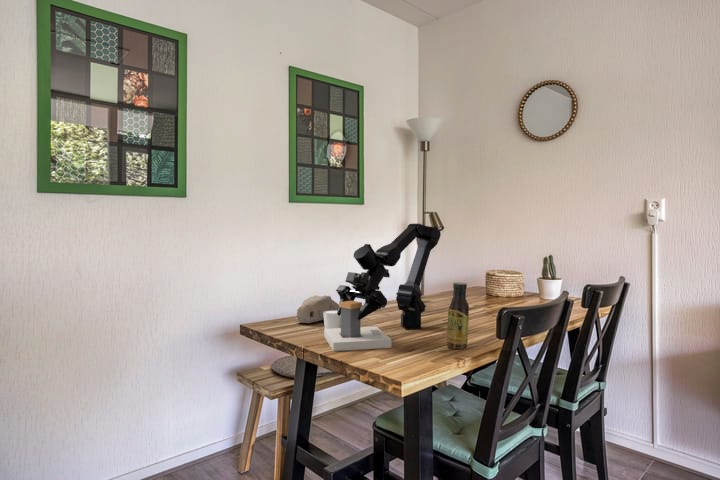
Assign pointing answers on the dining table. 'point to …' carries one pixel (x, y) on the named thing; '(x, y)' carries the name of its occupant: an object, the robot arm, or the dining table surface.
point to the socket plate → (358, 339)
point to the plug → (350, 319)
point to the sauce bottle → (458, 318)
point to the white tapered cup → (332, 319)
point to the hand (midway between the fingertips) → (347, 316)
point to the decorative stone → (315, 309)
